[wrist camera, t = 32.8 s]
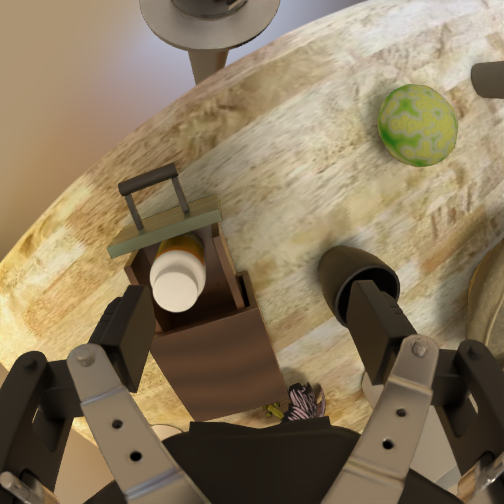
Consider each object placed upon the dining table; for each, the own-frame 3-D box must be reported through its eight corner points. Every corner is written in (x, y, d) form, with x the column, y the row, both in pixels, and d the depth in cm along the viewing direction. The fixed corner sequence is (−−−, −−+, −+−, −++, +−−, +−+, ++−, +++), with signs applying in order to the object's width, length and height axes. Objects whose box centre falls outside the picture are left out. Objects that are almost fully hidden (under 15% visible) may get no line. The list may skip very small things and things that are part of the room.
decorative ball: (348, 124, 35) (391, 124, 26) (391, 73, 33) (439, 63, 24) (397, 177, 38) (445, 193, 29) (435, 126, 36) (485, 131, 27)
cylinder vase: (404, 331, 48) (490, 435, 25) (427, 362, 52) (497, 451, 29) (347, 378, 50) (409, 496, 27) (378, 403, 54) (433, 500, 31)
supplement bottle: (154, 234, 35) (137, 269, 26) (201, 226, 35) (199, 259, 26) (164, 277, 37) (153, 323, 28) (209, 270, 37) (211, 314, 28)
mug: (325, 321, 44) (349, 363, 36) (300, 251, 40) (325, 285, 31) (374, 298, 44) (407, 333, 35) (357, 225, 40) (394, 252, 31)
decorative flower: (294, 473, 44) (248, 469, 35) (258, 430, 53) (209, 412, 44) (355, 416, 46) (327, 396, 37) (313, 377, 55) (276, 347, 46)
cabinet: (154, 299, 40) (143, 341, 31) (247, 270, 40) (258, 307, 31) (195, 377, 45) (196, 423, 37) (275, 354, 45) (289, 398, 37)
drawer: (108, 185, 33) (86, 198, 26) (202, 150, 33) (200, 154, 26) (167, 320, 40) (161, 356, 33) (250, 295, 40) (259, 327, 33)
